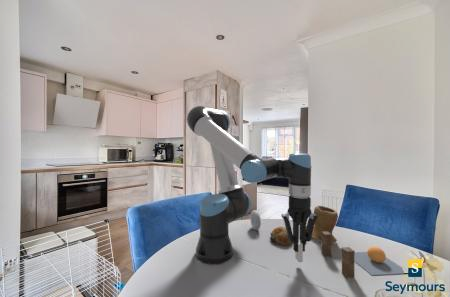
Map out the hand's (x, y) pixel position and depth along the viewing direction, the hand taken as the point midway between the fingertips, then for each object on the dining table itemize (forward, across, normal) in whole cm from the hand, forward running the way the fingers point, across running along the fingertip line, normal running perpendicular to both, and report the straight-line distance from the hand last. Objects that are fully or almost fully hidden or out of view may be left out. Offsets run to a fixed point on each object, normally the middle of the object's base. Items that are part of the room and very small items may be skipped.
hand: (298, 259), depth 73 cm
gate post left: (+2, +14, +6) cm, 16 cm away
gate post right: (+2, +14, -6) cm, 16 cm away
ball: (-1, +30, 0) cm, 30 cm away
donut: (+3, -9, +33) cm, 34 cm away
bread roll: (+3, +1, +20) cm, 20 cm away
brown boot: (+3, +20, +21) cm, 29 cm away
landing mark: (+2, +29, 0) cm, 29 cm away
